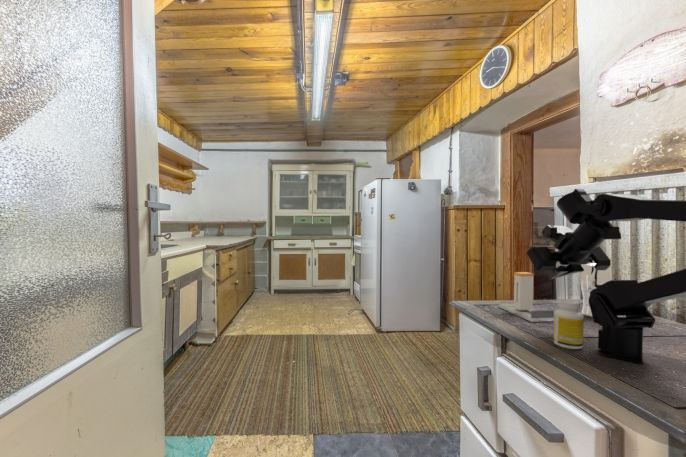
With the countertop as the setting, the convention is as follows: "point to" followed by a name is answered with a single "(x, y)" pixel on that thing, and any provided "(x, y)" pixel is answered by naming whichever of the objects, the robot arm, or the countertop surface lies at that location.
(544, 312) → the fader rail
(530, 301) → the white rectangular canister
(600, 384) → the countertop surface
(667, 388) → the countertop surface
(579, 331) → the supplement bottle
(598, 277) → the beer glass
